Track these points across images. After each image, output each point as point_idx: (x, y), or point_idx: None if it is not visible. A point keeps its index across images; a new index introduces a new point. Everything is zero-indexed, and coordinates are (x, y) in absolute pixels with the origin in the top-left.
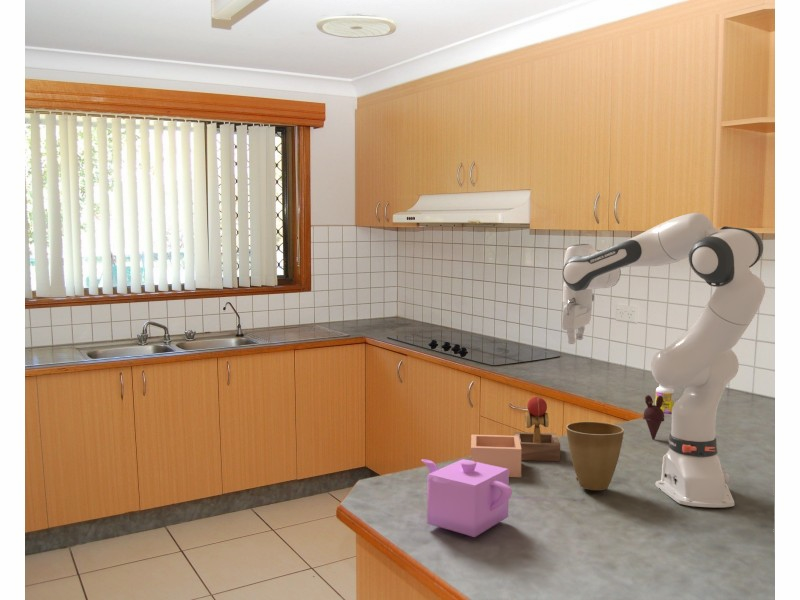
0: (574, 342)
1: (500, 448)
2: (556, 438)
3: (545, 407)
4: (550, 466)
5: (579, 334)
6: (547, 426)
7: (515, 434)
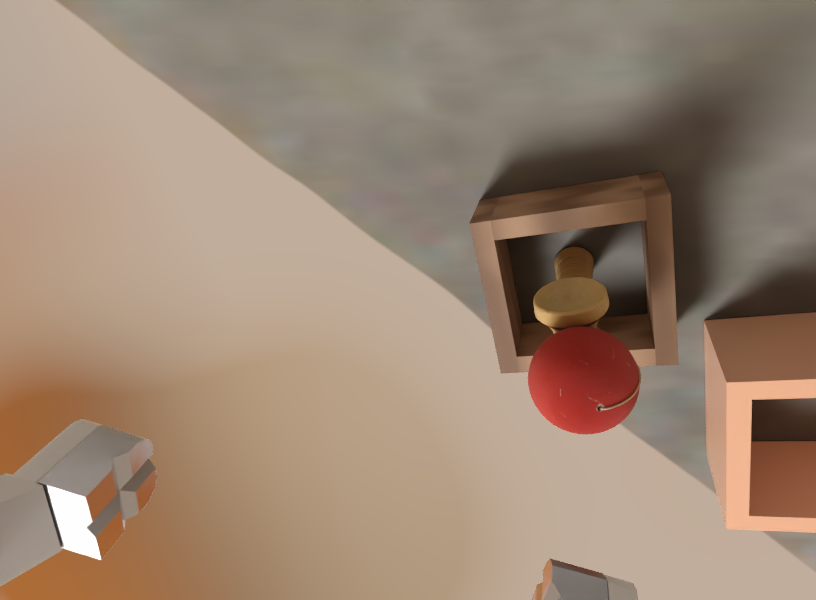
0: (606, 586)
1: None
2: (557, 216)
3: (612, 344)
4: (749, 204)
5: (89, 524)
6: (590, 280)
7: None
